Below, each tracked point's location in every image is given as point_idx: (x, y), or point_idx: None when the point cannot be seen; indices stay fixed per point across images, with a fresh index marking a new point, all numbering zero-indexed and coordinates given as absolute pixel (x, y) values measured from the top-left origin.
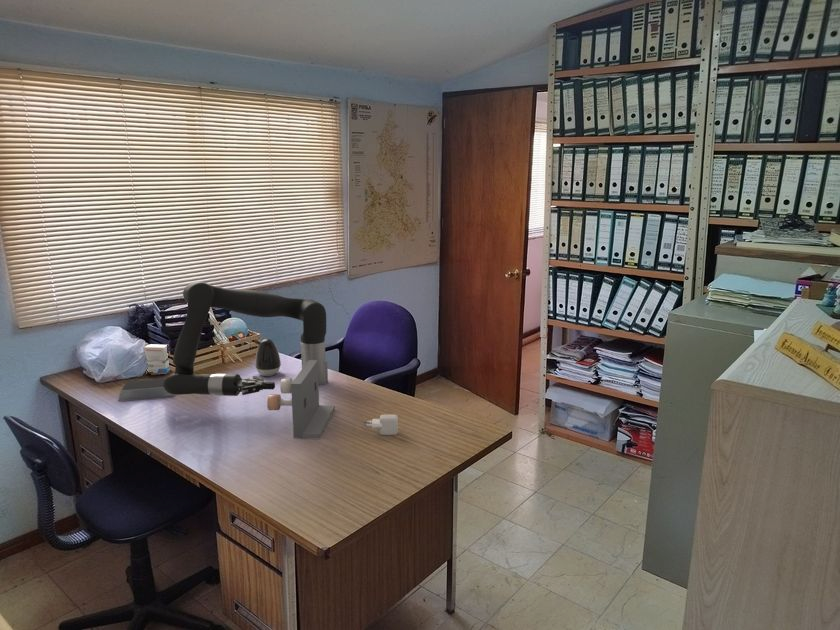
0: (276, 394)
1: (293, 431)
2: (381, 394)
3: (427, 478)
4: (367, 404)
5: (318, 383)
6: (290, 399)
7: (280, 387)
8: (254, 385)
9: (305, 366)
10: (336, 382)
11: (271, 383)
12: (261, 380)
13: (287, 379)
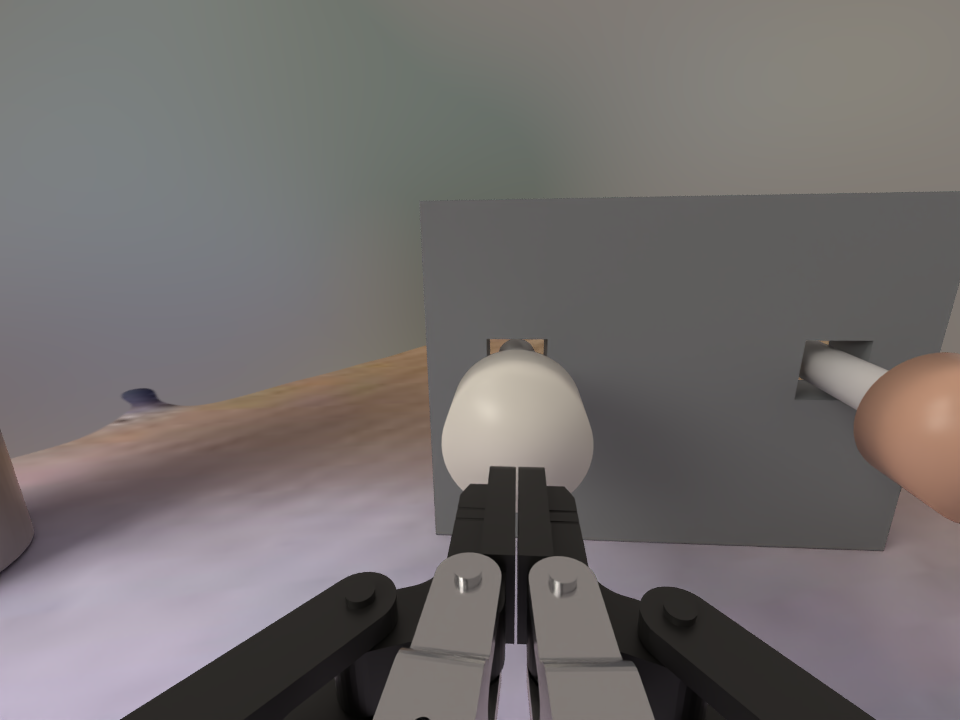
0: (950, 360)
1: (892, 513)
2: (324, 388)
3: (828, 343)
4: (412, 403)
5: (25, 524)
6: (854, 363)
7: (592, 439)
8: (752, 658)
9: (572, 198)
10: (47, 483)
11: (545, 477)
12: (393, 609)
13: (526, 358)
